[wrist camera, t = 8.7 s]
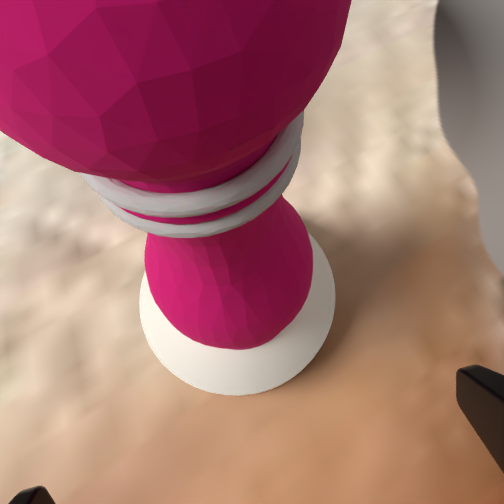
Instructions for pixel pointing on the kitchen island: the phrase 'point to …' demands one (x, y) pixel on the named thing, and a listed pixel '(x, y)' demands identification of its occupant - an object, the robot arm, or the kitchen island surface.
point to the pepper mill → (182, 138)
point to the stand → (249, 360)
